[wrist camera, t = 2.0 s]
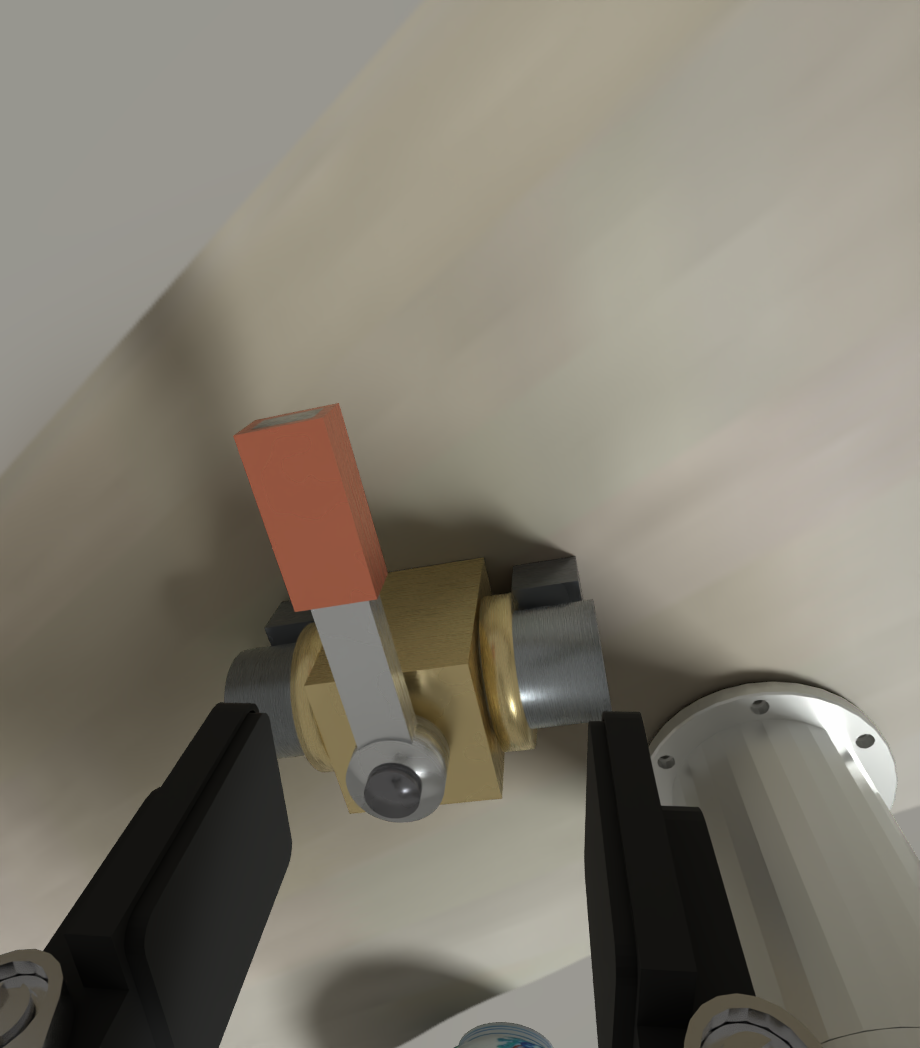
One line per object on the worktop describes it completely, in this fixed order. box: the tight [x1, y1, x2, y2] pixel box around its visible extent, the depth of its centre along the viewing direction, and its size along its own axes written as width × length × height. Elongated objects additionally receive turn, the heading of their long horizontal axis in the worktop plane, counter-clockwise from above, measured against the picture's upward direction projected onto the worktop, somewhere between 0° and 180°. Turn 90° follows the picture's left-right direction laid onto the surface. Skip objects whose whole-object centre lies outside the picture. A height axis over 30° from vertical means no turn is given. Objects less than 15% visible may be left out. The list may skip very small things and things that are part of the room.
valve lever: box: [233, 403, 450, 822], centre depth 24 cm, size 15×4×2 cm, turn 13°
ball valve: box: [224, 556, 612, 814], centre depth 32 cm, size 7×16×9 cm, turn 103°
